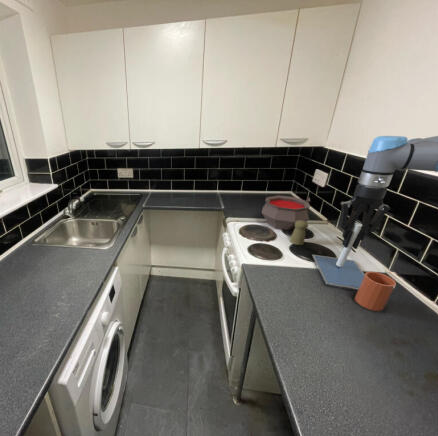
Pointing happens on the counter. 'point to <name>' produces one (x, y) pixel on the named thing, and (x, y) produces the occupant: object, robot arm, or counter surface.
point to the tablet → (339, 272)
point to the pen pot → (374, 291)
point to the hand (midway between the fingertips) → (349, 246)
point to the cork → (299, 232)
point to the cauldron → (285, 211)
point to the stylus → (349, 245)
